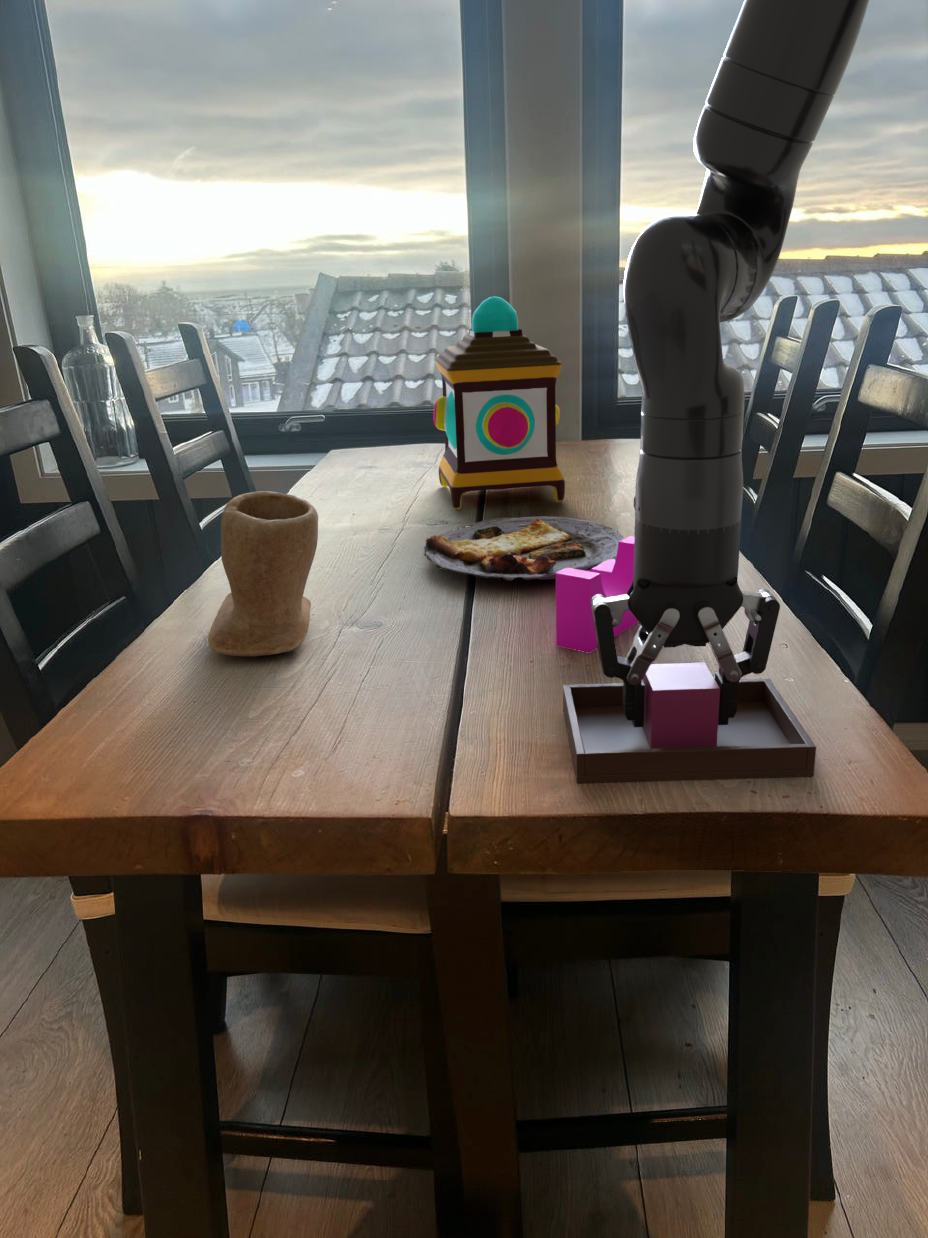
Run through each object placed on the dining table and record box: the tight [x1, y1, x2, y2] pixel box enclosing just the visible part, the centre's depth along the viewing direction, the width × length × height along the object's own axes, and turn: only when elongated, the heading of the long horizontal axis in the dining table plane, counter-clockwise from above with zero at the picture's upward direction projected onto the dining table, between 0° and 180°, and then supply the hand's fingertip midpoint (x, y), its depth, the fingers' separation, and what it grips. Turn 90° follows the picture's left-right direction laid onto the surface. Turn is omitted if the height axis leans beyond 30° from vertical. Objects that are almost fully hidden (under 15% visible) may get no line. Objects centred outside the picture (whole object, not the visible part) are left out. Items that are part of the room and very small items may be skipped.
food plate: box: [423, 516, 626, 583], centre depth 124 cm, size 25×23×4 cm
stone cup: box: [207, 490, 319, 657], centre depth 101 cm, size 15×12×15 cm
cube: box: [643, 662, 720, 748], centre depth 77 cm, size 5×5×5 cm
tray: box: [562, 678, 817, 784], centre depth 78 cm, size 17×12×2 cm
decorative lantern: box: [432, 295, 566, 511], centre depth 154 cm, size 20×20×30 cm
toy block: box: [555, 535, 639, 654], centre depth 102 cm, size 15×6×8 cm, turn 143°
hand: (678, 721), depth 78 cm, fingers open, 6 cm apart
